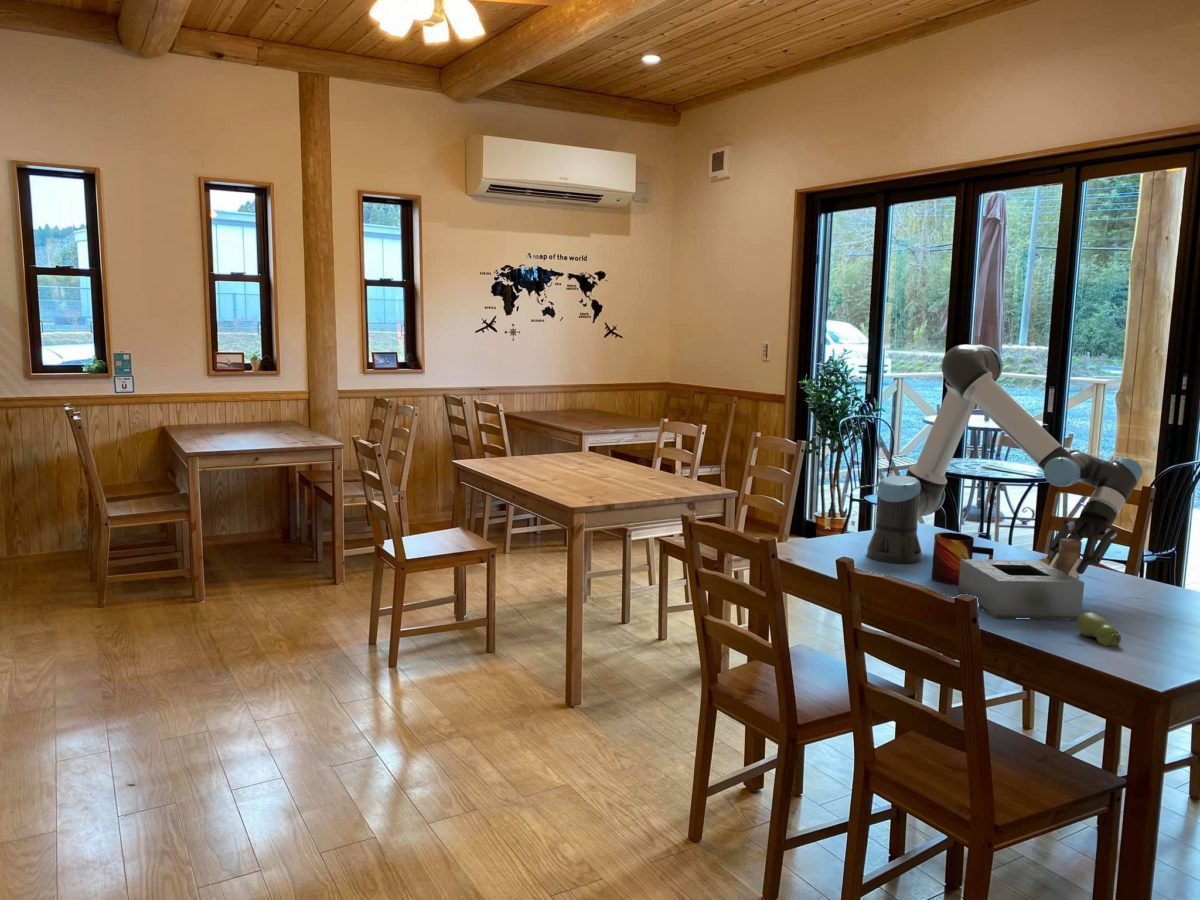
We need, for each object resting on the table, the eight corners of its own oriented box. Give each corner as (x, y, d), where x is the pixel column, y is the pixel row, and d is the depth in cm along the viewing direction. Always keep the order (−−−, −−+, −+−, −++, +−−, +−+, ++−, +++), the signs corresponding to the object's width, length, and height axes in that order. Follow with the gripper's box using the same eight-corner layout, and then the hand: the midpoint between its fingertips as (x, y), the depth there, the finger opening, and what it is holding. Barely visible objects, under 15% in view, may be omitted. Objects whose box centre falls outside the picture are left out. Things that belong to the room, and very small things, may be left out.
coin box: (957, 593, 225) (960, 558, 223) (1035, 595, 225) (1039, 560, 224) (995, 618, 205) (998, 580, 204) (1080, 620, 205) (1084, 582, 204)
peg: (1050, 592, 227) (1056, 538, 225) (1069, 592, 227) (1075, 538, 225) (1061, 597, 222) (1066, 542, 220) (1080, 598, 222) (1085, 543, 220)
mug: (992, 586, 233) (996, 541, 231) (939, 585, 233) (943, 540, 231) (976, 576, 242) (980, 533, 241) (926, 575, 242) (929, 532, 241)
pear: (1095, 607, 196) (1130, 629, 187) (1089, 629, 198) (1124, 652, 189) (1073, 608, 195) (1108, 630, 186) (1068, 630, 197) (1102, 653, 187)
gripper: (1142, 524, 223) (1098, 597, 216) (1073, 511, 238) (1030, 579, 231) (1133, 505, 219) (1088, 578, 213) (1063, 493, 234) (1020, 561, 228)
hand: (1058, 578), depth 222 cm, fingers closed on peg, 5 cm apart
